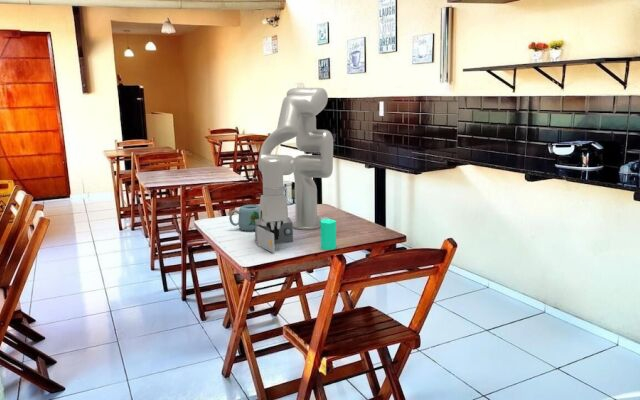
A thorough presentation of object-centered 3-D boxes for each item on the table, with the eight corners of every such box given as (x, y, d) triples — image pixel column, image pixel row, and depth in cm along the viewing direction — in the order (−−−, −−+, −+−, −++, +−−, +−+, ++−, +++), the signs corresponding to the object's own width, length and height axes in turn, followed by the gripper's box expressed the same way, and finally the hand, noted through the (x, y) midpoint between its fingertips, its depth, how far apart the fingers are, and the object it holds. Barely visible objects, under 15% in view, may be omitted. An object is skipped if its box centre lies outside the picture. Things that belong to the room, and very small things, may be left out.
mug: (233, 234, 221) (232, 211, 219) (226, 228, 231) (225, 206, 229) (267, 230, 227) (266, 207, 224) (259, 224, 236) (259, 202, 234)
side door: (274, 252, 194) (274, 233, 193) (271, 253, 194) (270, 234, 192) (258, 243, 205) (257, 225, 204) (255, 244, 205) (254, 226, 203)
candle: (320, 245, 204) (319, 215, 201) (335, 245, 204) (335, 215, 202) (321, 250, 198) (321, 219, 196) (337, 249, 198) (337, 218, 196)
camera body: (289, 236, 217) (288, 215, 215) (293, 242, 208) (292, 220, 206) (255, 238, 214) (254, 217, 212) (257, 244, 205) (257, 223, 203)
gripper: (287, 187, 201) (288, 233, 205) (250, 191, 194) (252, 239, 198) (295, 191, 194) (296, 238, 198) (258, 195, 188) (259, 244, 192)
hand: (274, 238), depth 198 cm, fingers closed
